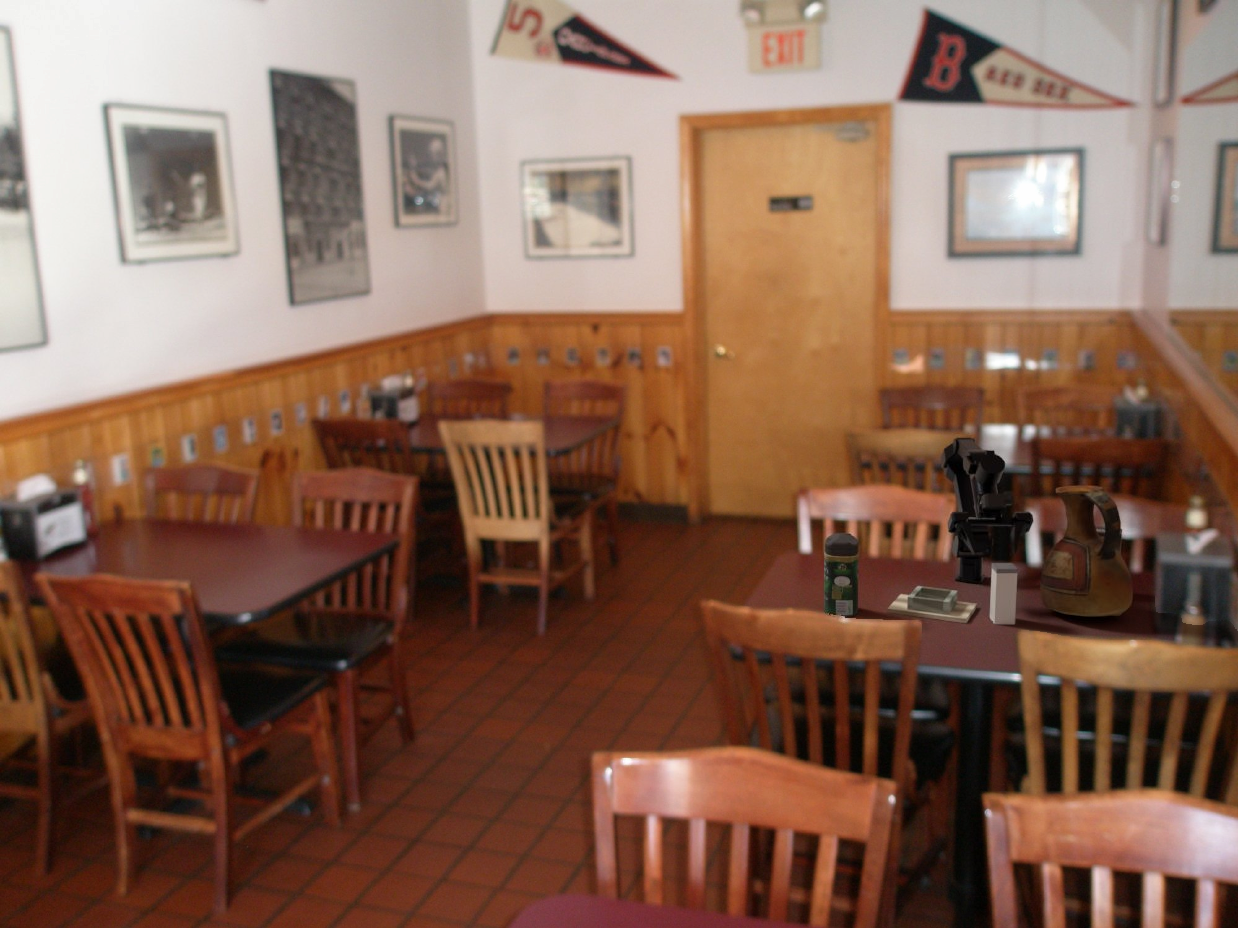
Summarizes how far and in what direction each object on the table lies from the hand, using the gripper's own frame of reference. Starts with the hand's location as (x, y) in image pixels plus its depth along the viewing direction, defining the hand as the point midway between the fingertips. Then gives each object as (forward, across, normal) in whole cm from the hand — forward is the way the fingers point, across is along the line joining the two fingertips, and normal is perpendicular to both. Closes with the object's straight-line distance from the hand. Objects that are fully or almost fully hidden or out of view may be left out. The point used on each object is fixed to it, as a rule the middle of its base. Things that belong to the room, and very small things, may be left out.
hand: (994, 553), depth 264 cm
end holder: (+10, -14, +9) cm, 19 cm away
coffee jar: (+11, -35, +8) cm, 38 cm away
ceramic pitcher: (+12, +20, +8) cm, 24 cm away
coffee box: (+1, +28, +19) cm, 34 cm away
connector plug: (+15, 0, +4) cm, 16 cm away
